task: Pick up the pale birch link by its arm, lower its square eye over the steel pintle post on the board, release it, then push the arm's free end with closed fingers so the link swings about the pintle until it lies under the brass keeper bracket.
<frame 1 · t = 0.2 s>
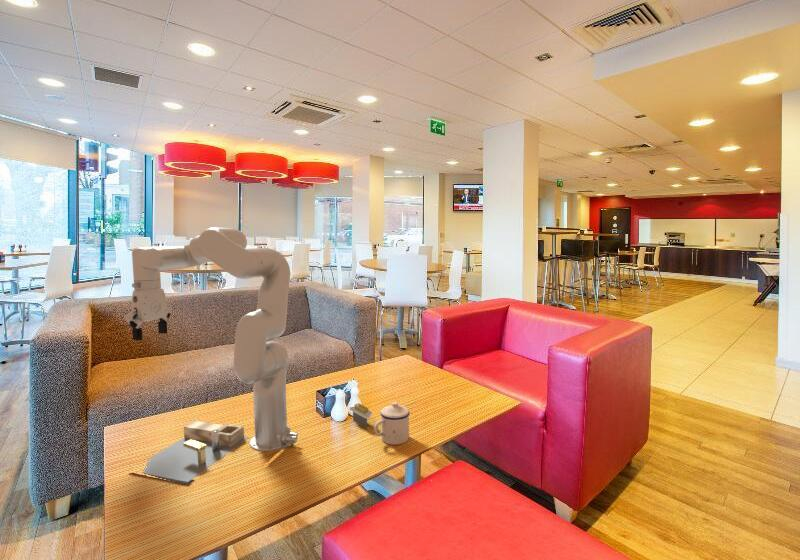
hand: (150, 336, 137), 31 cm above the table, tool pointing down, fingers open, 9 cm apart
pintle: (215, 440, 121), on the board, point 4 cm above the table
teacup with lid: (391, 440, 129), on the table
board: (193, 455, 120), on the table
link: (189, 434, 131), point 1 cm above the table, touching board
keeper: (195, 452, 115), on the board, point 3 cm above the table
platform: (362, 425, 140), on the table
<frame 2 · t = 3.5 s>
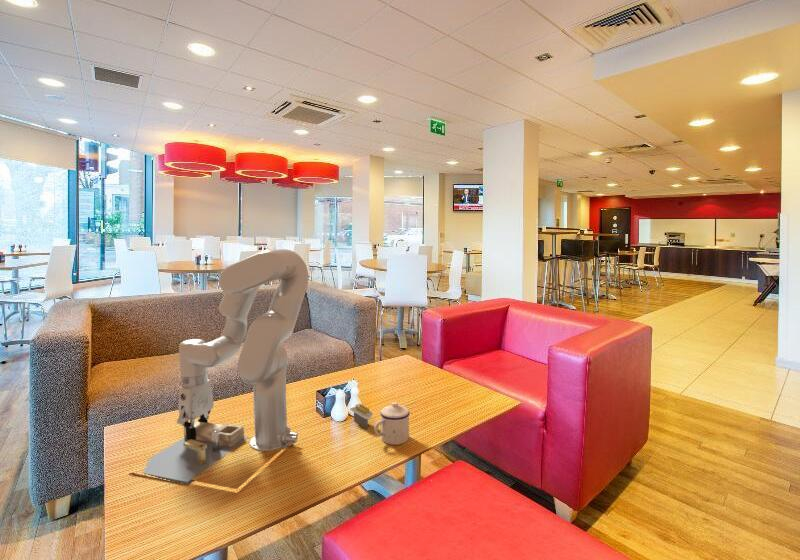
hand: (197, 434, 130), 1 cm above the table, tool pointing down, fingers closed on link, 4 cm apart
link: (189, 434, 131), point 1 cm above the table, touching board, gripper
when the fingers open (2 cm above the table, at t = 7.1 s): link stays where it is, resting on board.
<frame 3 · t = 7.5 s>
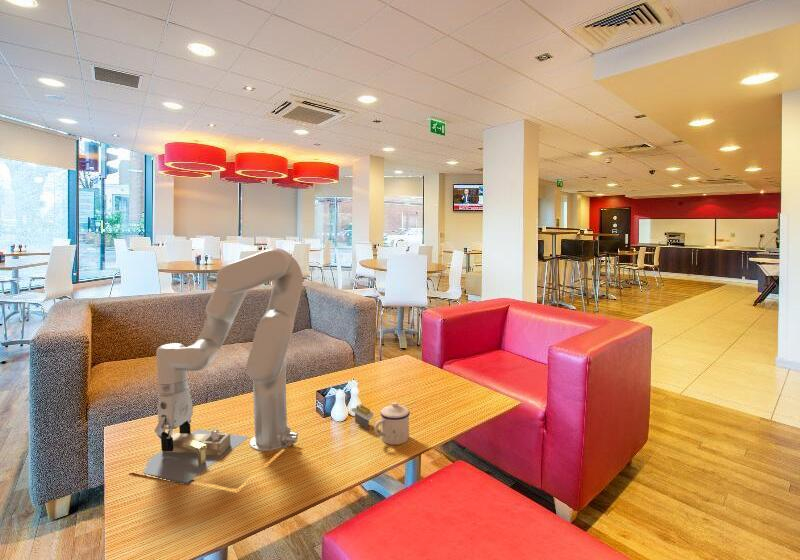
hand: (176, 443, 122), 2 cm above the table, tool pointing down, fingers open, 8 cm apart
link: (167, 448, 123), point 1 cm above the table, touching board
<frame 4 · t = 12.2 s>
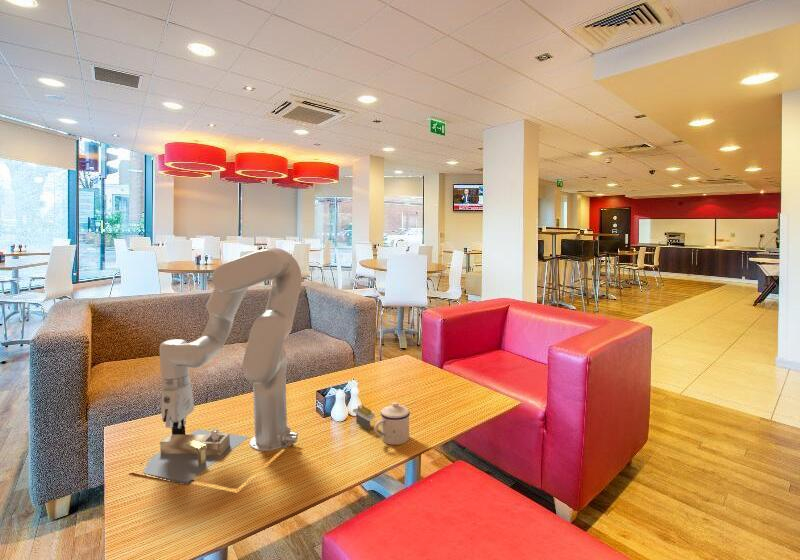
hand: (179, 439, 126), 2 cm above the table, tool pointing down, fingers closed
link: (165, 449, 122), point 1 cm above the table, touching board, gripper
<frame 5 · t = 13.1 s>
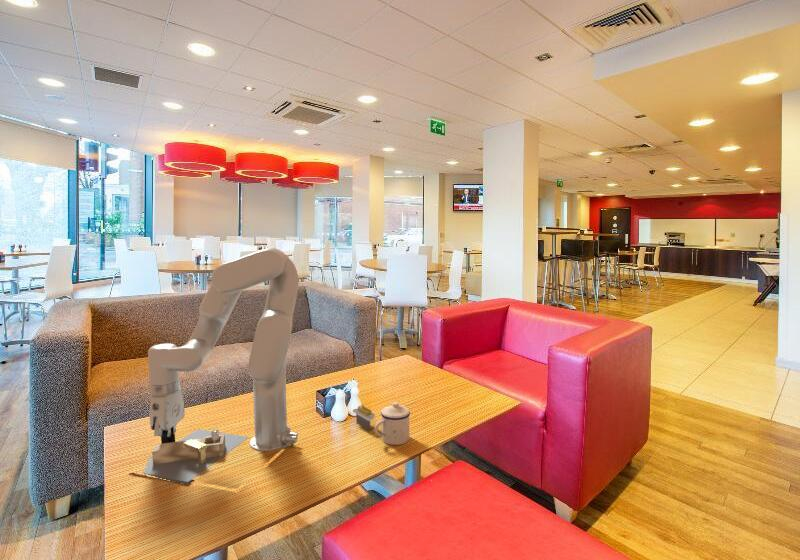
hand: (168, 447, 121), 2 cm above the table, tool pointing down, fingers closed
link: (155, 460, 116), point 1 cm above the table, touching board, gripper, pintle
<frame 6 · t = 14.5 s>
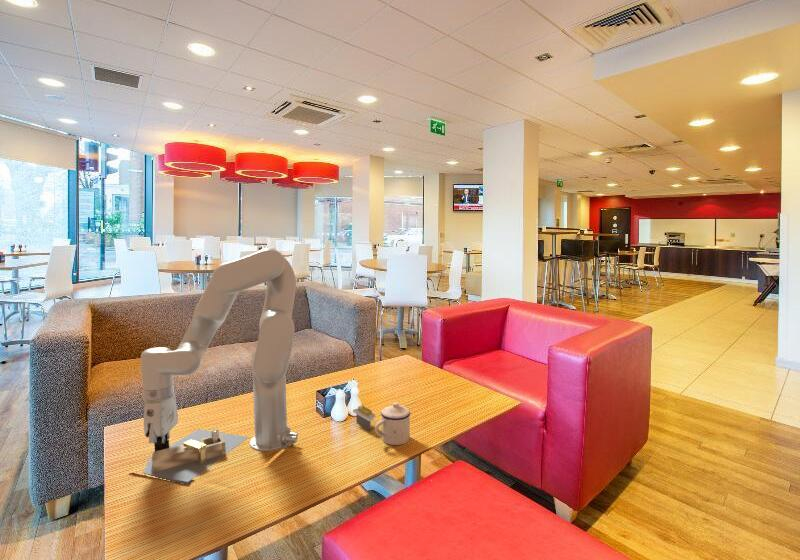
hand: (162, 454, 117), 2 cm above the table, tool pointing down, fingers closed
link: (152, 468, 112), point 1 cm above the table, touching board, gripper
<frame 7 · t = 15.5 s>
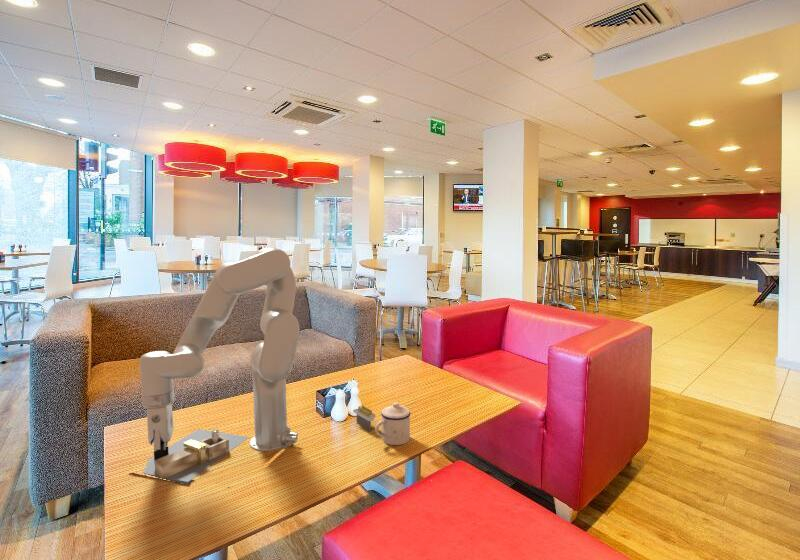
hand: (161, 462, 113), 2 cm above the table, tool pointing down, fingers closed
link: (159, 476, 108), point 1 cm above the table, touching board, gripper, keeper, pintle
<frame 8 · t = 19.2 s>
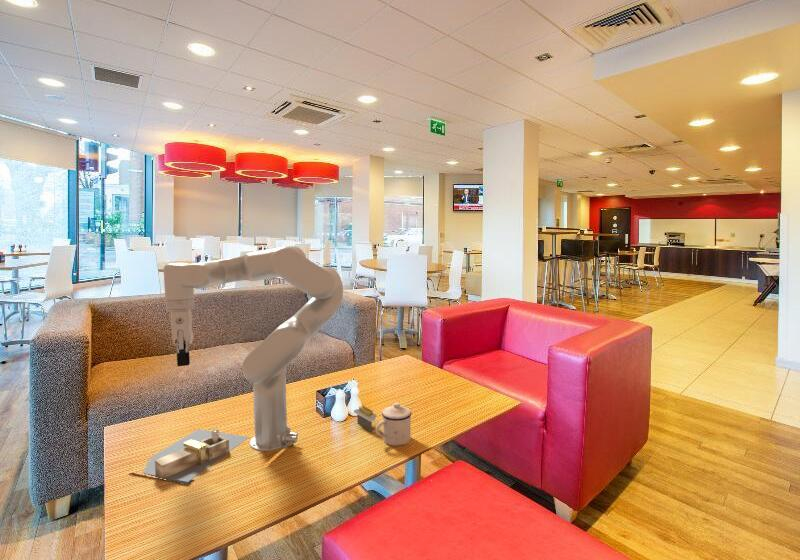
hand: (183, 364, 124), 25 cm above the table, tool pointing down, fingers closed
link: (159, 475, 108), point 1 cm above the table, touching board
at the end: link 1.4 cm from the target spot, point 0.8 cm above the table; link tilted 0°; the gripper is holding nothing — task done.
